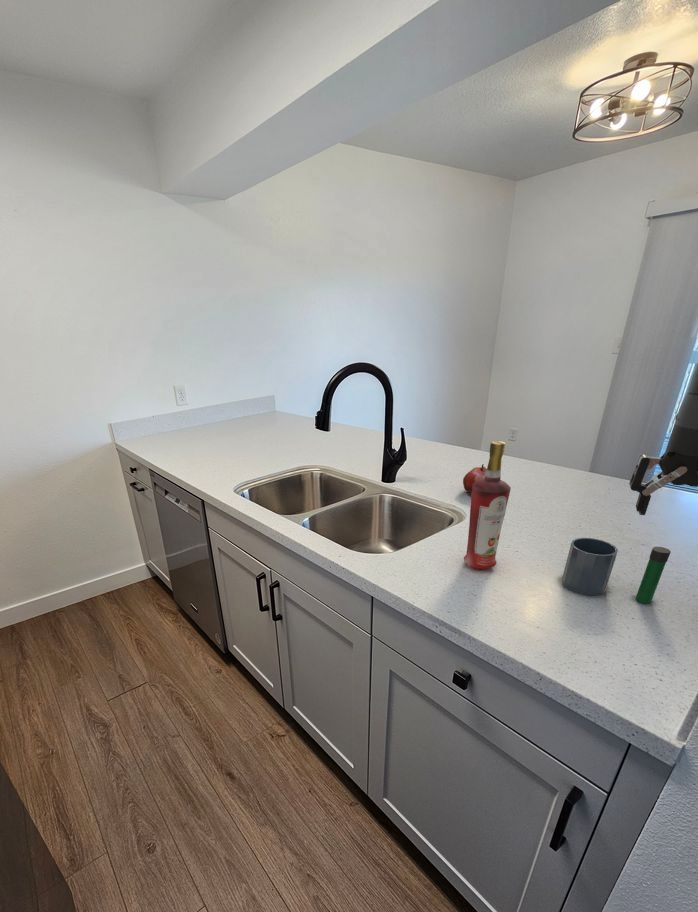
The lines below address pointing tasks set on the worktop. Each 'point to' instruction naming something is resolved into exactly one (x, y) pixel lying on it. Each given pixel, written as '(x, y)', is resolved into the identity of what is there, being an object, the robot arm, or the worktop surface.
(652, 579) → the green marker
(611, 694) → the worktop surface
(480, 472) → the fruit
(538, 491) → the worktop surface
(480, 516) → the liquor
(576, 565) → the grey cylindrical cup
